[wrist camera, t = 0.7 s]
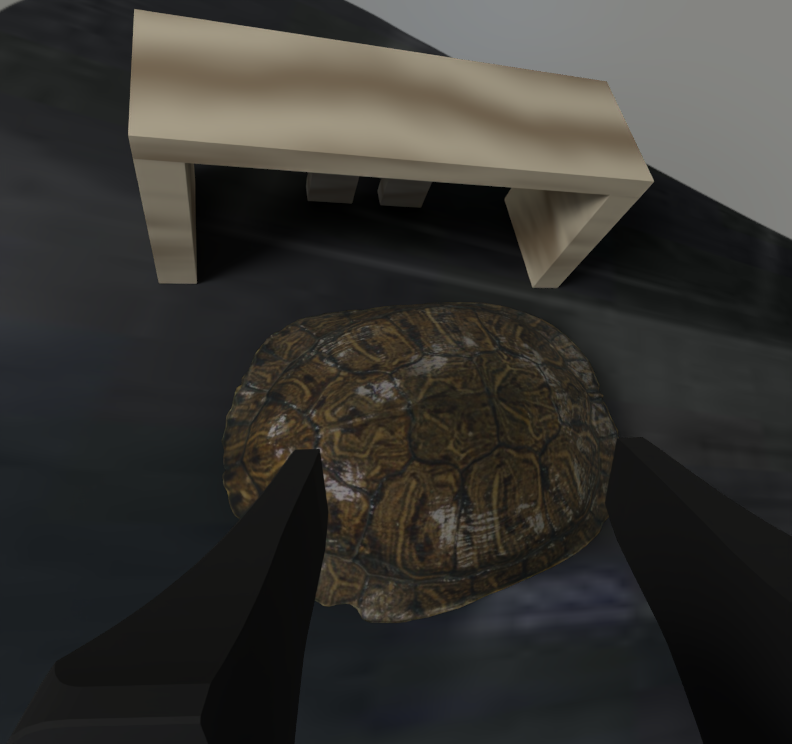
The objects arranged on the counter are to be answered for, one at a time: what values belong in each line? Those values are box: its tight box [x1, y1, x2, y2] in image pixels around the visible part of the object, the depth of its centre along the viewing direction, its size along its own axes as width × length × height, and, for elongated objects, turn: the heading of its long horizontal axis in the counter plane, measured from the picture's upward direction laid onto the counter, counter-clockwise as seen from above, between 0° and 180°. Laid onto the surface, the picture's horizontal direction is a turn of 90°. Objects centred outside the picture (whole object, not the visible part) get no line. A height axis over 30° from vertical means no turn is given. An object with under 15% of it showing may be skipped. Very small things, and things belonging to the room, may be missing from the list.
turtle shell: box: [222, 302, 619, 623], centre depth 27 cm, size 16×9×20 cm
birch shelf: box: [128, 9, 654, 288], centre depth 31 cm, size 8×26×10 cm, turn 100°
